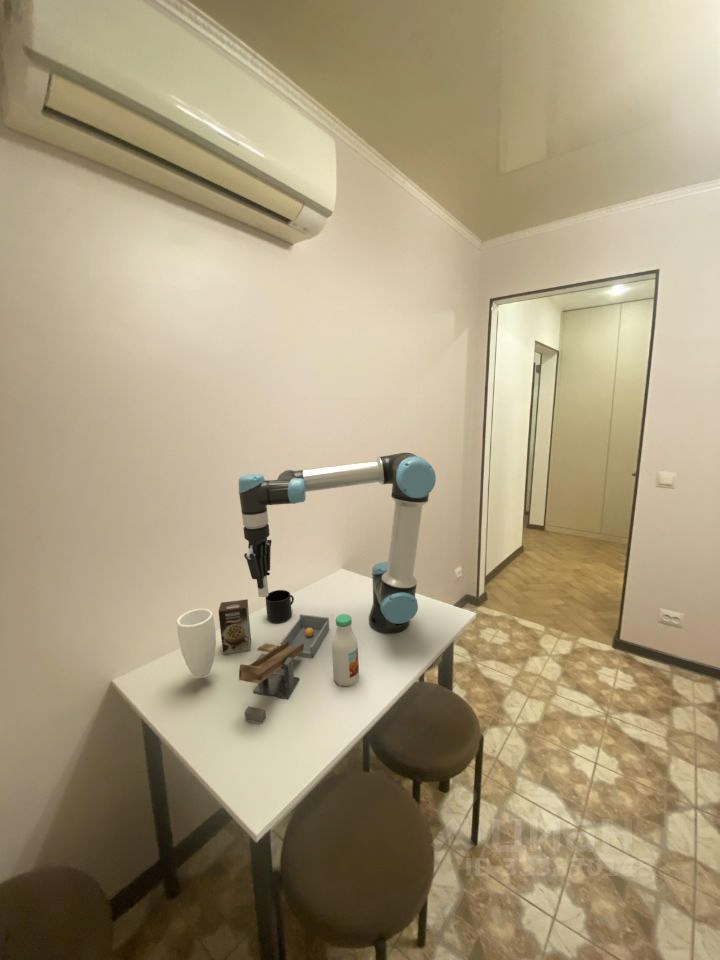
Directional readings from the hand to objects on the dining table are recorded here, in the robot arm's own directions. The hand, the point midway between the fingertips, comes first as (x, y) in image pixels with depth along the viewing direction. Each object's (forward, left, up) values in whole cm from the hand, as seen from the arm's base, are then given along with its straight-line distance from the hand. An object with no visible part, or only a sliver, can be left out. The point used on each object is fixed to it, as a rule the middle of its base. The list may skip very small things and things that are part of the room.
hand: (263, 595), depth 122 cm
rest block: (-9, +24, -22) cm, 33 cm away
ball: (-9, -14, -20) cm, 26 cm away
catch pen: (-9, -11, -22) cm, 26 cm away
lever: (-5, +12, -15) cm, 20 cm away
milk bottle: (-28, +3, -22) cm, 36 cm away
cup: (+14, +14, -22) cm, 30 cm away
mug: (+7, -24, -22) cm, 34 cm away
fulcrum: (-9, +11, -22) cm, 26 cm away
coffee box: (+13, -3, -22) cm, 26 cm away
